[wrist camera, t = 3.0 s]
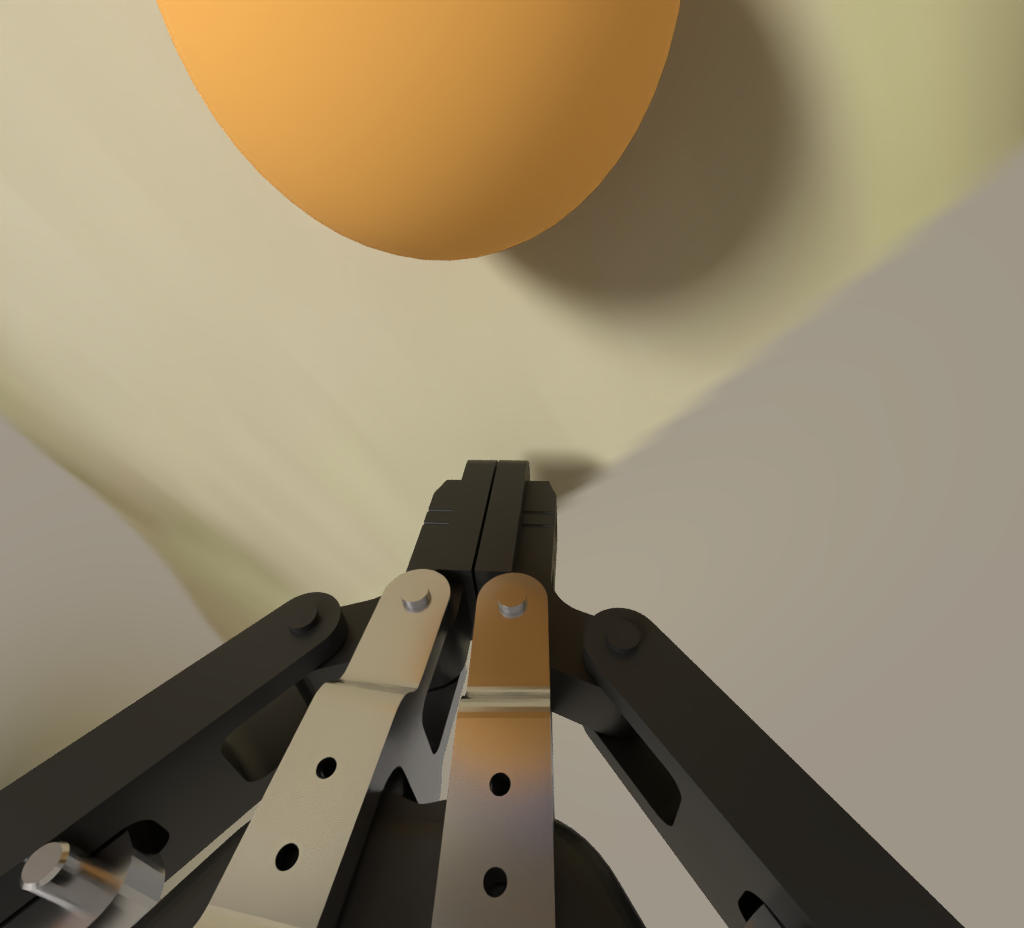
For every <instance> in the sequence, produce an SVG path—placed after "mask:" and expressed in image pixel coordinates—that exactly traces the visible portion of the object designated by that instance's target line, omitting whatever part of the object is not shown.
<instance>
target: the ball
mask: <svg viewBox="0 0 1024 928" xmlns="http://www.w3.org/2000/svg"><path fill="white" fill-rule="evenodd" d="M156 1H157V4H158V7H159V9H160V12H161V14H162V17H163V19H164V22H165V24H166V27H167V29H168V31H169V34H170V36H171V39H172V41H173V44H174V46H175V48H176V50H177V52H178V54H179V56H180V58H181V60H182V62H183V64H184V66H185V68H186V70H187V72H188V74H189V76H190V78H191V80H192V82H193V84H194V85H195V87H196V89H197V90H198V92H199V94H200V95H201V97H202V98H203V100H204V102H205V103H206V105H207V106H208V108H209V110H210V111H211V113H212V114H213V116H214V118H215V119H216V121H217V122H218V123H219V125H220V126H221V127H222V129H223V130H224V131H225V133H226V134H227V135H228V137H229V138H230V139H231V141H232V142H233V143H234V145H235V146H236V147H237V148H238V150H239V151H240V152H241V153H242V154H243V155H244V156H245V157H246V159H247V160H248V161H249V162H250V163H251V164H252V165H253V166H254V167H255V169H256V170H257V171H258V172H259V173H260V174H261V175H262V176H263V177H264V178H265V179H266V180H268V181H269V182H270V183H271V184H272V185H273V186H274V187H275V188H276V189H277V190H278V191H280V192H281V193H282V194H283V195H284V196H285V197H286V198H287V199H289V200H290V201H291V202H292V203H294V204H295V205H296V206H298V207H299V208H300V209H302V210H303V211H304V212H306V213H307V214H308V215H310V216H311V217H312V218H314V219H315V220H317V221H318V222H320V223H322V224H323V225H325V226H327V227H328V228H330V229H332V230H333V231H335V232H337V233H339V234H340V235H342V236H345V237H347V238H349V239H351V240H354V241H356V242H358V243H360V244H363V245H365V246H368V247H371V248H374V249H378V250H381V251H384V252H387V253H391V254H395V255H399V256H405V257H411V258H417V259H423V260H449V261H451V260H460V259H469V258H477V257H480V256H484V255H488V254H492V253H496V252H500V251H503V250H505V249H508V248H510V247H513V246H515V245H517V244H520V243H522V242H525V241H527V240H529V239H531V238H533V237H535V236H537V235H538V234H540V233H542V232H543V231H545V230H547V229H548V228H550V227H552V226H554V225H555V224H556V223H558V222H559V221H560V220H561V219H563V218H564V217H565V216H567V215H568V214H569V213H570V212H572V211H573V210H574V209H576V208H577V207H578V206H579V205H580V204H581V203H582V202H583V201H584V200H585V199H586V198H587V197H588V196H589V195H590V194H591V193H592V192H593V191H594V190H595V189H596V188H597V187H598V186H599V184H600V183H601V182H602V181H603V179H604V178H605V177H606V176H607V174H608V173H609V172H610V170H611V169H612V168H613V167H614V165H615V164H616V163H617V161H618V160H619V159H620V157H621V155H622V154H623V152H624V151H625V149H626V147H627V146H628V144H629V142H630V141H631V139H632V138H633V136H634V134H635V133H636V131H637V129H638V127H639V125H640V123H641V121H642V119H643V117H644V115H645V113H646V111H647V109H648V106H649V104H650V102H651V100H652V98H653V96H654V94H655V91H656V88H657V85H658V82H659V80H660V77H661V74H662V71H663V68H664V65H665V63H666V60H667V57H668V54H669V50H670V46H671V42H672V38H673V34H674V30H675V26H676V21H677V17H678V13H679V8H680V1H681V0H156Z"/></svg>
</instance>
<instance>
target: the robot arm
mask: <svg viewBox="0 0 1024 928" xmlns="http://www.w3.org/2000/svg"><path fill="white" fill-rule="evenodd" d="M556 552H557V505H556V494H555V492H554V490H553V489H552V487H551V485H550V483H549V481H530V468H529V461H520V460H499V462H498V461H497V460H468V461H467V464H466V467H465V470H464V473H463V477H462V480H446V481H445V482H444V484H443V485H442V486H441V487H440V488H439V489H438V490H437V491H436V492H435V493H434V495H433V498H432V500H431V503H430V506H429V512H427V515H426V517H425V520H424V525H423V526H422V529H421V531H420V534H419V537H418V540H417V543H416V545H415V548H414V551H413V554H412V557H411V560H410V562H409V565H408V568H407V571H406V573H403V574H401V575H399V576H398V577H396V578H395V579H394V580H392V581H391V582H390V583H389V584H388V586H387V587H386V588H385V590H384V592H383V594H382V596H380V597H377V598H375V599H372V600H368V601H364V602H360V603H355V604H351V605H347V606H342V607H340V605H339V603H338V601H337V600H336V599H335V598H334V597H333V596H331V595H329V594H326V593H321V592H312V593H307V594H303V595H300V596H298V597H295V598H293V599H292V600H290V601H288V602H287V603H285V604H284V605H282V606H281V607H279V608H277V609H276V610H274V611H273V612H271V613H270V614H268V615H267V616H265V617H264V618H262V619H261V620H259V621H258V622H256V623H255V624H253V625H252V626H250V627H249V628H247V629H245V630H244V631H242V632H241V633H239V634H238V635H236V636H235V637H233V638H232V639H230V640H229V641H227V642H226V643H224V644H223V645H221V646H220V647H218V648H217V649H215V650H214V651H212V652H210V653H209V654H208V655H206V656H204V657H203V658H201V659H200V660H199V661H197V662H195V663H194V664H192V665H191V666H189V667H188V668H186V669H185V670H183V671H182V672H180V673H179V674H177V675H175V676H174V677H173V678H171V679H169V680H168V681H166V682H165V683H163V684H162V685H160V686H159V687H157V688H156V689H154V690H153V691H151V692H150V693H148V694H147V695H145V696H144V697H142V698H140V699H139V700H137V701H136V702H135V703H133V704H131V705H130V706H128V707H127V708H125V709H124V710H122V711H121V712H119V713H118V714H116V715H115V716H113V717H112V718H110V719H108V720H107V721H106V722H104V723H103V724H101V725H99V726H98V727H96V728H95V729H93V730H92V731H90V732H89V733H87V734H86V735H84V736H83V737H81V738H80V739H78V740H77V741H75V742H74V743H72V744H71V745H69V746H67V747H66V748H65V749H63V750H61V751H60V752H58V753H57V754H55V755H54V756H52V757H51V758H49V759H48V760H46V761H45V762H43V763H41V764H40V765H38V766H37V767H35V768H34V769H33V770H31V771H29V772H28V773H26V774H25V775H23V776H22V777H20V778H19V779H17V780H16V781H14V782H13V783H11V784H10V785H8V786H6V787H5V788H3V789H2V790H0V928H646V927H645V925H644V923H643V921H642V920H641V918H640V917H639V915H638V913H637V911H636V910H635V908H634V906H633V905H632V903H631V901H630V900H629V898H628V896H627V894H626V893H625V891H624V889H623V888H622V886H621V884H620V883H619V881H618V879H617V878H616V876H615V874H614V873H613V871H612V870H611V868H610V867H609V866H608V864H607V863H606V862H605V860H604V859H603V858H602V857H601V855H600V854H599V853H598V852H597V851H596V850H595V848H594V847H593V846H592V845H591V844H590V843H589V842H588V841H587V840H586V839H585V838H583V837H582V836H581V835H580V834H578V833H577V832H576V831H575V830H573V829H572V828H570V827H569V826H567V825H565V824H564V823H562V822H561V821H559V820H557V819H555V806H554V805H555V803H554V774H553V773H554V772H553V737H552V712H554V713H556V714H559V715H561V716H563V717H565V718H568V719H570V720H572V721H575V722H577V723H579V724H581V725H583V727H584V729H585V731H586V733H587V735H588V736H589V737H590V739H591V740H592V742H593V743H594V744H595V746H596V747H597V749H598V750H599V751H600V753H601V754H602V755H603V757H604V758H605V759H606V761H607V762H608V764H609V765H610V766H611V767H612V769H613V770H614V772H615V773H616V774H617V776H618V777H619V779H620V780H621V781H622V783H623V784H624V785H625V787H626V788H627V789H628V791H629V792H630V794H631V795H632V796H633V797H634V799H635V800H636V802H637V803H638V804H639V806H640V807H641V809H642V810H643V811H644V812H645V814H646V815H647V817H648V818H649V819H650V821H651V822H652V824H653V825H654V826H655V828H656V829H657V830H658V832H659V833H660V834H661V836H662V837H663V839H664V840H665V841H666V843H667V844H668V845H669V847H670V848H671V849H672V851H673V852H674V854H675V855H676V856H677V858H678V859H679V860H680V862H681V863H682V864H683V866H684V867H685V869H686V870H687V871H688V873H689V874H690V875H691V877H692V878H693V879H694V881H695V882H696V884H697V885H698V886H699V888H700V889H701V890H702V892H703V893H704V894H705V896H706V897H707V899H708V900H709V901H710V903H711V904H712V905H713V907H714V908H715V910H716V911H717V912H718V914H719V915H720V916H721V918H722V919H723V920H724V922H725V923H726V924H727V926H728V927H729V928H965V927H964V926H963V925H961V924H960V923H959V922H958V921H957V920H956V919H955V918H954V917H953V916H952V915H951V914H950V913H949V912H948V911H947V910H946V909H945V908H944V907H943V906H942V905H941V904H940V903H939V902H938V901H937V900H936V899H935V898H934V897H933V896H932V895H931V894H930V893H929V892H928V891H927V890H926V889H925V888H924V887H923V886H922V885H920V884H919V882H918V881H916V880H915V879H914V878H913V877H912V876H911V875H910V874H909V873H908V872H907V871H906V870H905V869H904V868H903V867H902V866H901V865H900V864H899V863H898V862H897V861H896V860H895V859H894V858H893V857H892V856H891V855H890V854H889V853H888V852H887V851H886V850H885V849H884V848H883V847H882V846H881V845H880V844H879V843H878V842H877V841H876V840H875V839H873V838H872V837H871V836H870V835H869V834H868V833H867V832H866V831H865V830H864V829H863V828H862V827H861V826H860V825H859V824H858V823H857V822H856V821H855V820H854V819H853V818H852V817H851V816H850V815H849V814H848V813H847V812H846V811H845V810H844V809H843V808H842V807H841V806H840V805H839V804H838V803H837V802H836V801H835V800H834V799H833V798H832V797H830V795H828V793H826V792H825V791H824V790H823V789H822V788H821V787H820V786H819V785H818V784H817V783H816V782H815V781H814V780H813V779H812V778H811V777H810V776H809V775H808V774H807V773H806V772H805V771H804V770H803V769H802V768H801V767H800V766H799V765H798V764H797V763H796V762H795V761H794V760H792V758H791V757H789V755H788V754H787V753H786V752H784V750H782V749H781V748H780V747H779V746H778V745H777V744H776V743H775V742H774V741H773V740H772V739H771V738H770V737H769V736H768V735H767V734H766V733H765V732H764V731H763V730H762V729H761V728H760V727H759V726H758V725H757V724H756V723H755V722H754V721H753V720H752V719H751V718H750V717H749V716H748V715H747V714H746V713H745V712H744V711H743V710H742V709H741V708H740V707H739V706H738V705H736V704H735V703H734V702H733V701H732V700H731V699H730V698H729V697H728V696H727V695H726V694H725V693H724V692H723V691H722V690H721V689H720V688H719V687H718V686H717V685H716V684H715V683H714V682H713V681H712V680H711V679H710V678H709V677H708V676H707V675H706V674H705V673H704V672H703V671H702V670H701V669H700V668H699V667H698V666H697V665H696V664H694V663H693V662H692V660H690V659H689V658H688V657H687V656H686V655H685V654H684V653H683V652H682V651H681V650H680V649H679V648H678V647H677V646H676V645H675V644H674V643H673V642H672V641H671V640H670V639H669V638H668V637H667V636H666V635H665V634H664V633H663V632H662V631H661V630H660V629H659V628H658V627H657V626H656V625H655V624H654V623H652V621H650V620H649V619H648V618H647V617H645V616H644V615H642V614H641V613H638V612H636V611H633V610H630V609H625V608H611V609H607V610H603V611H601V612H599V613H597V614H596V615H595V616H593V615H590V614H587V613H584V612H582V611H579V610H576V609H574V608H572V607H570V606H569V605H567V604H566V603H564V602H563V601H562V600H561V599H560V598H559V597H558V595H557V594H556V593H555V591H554V589H555V569H556ZM470 640H472V649H471V659H470V667H469V676H468V685H467V691H466V695H465V696H462V698H461V700H460V696H461V693H462V689H463V685H464V682H465V678H466V674H467V664H466V660H467V655H468V650H469V645H470ZM459 700H460V703H459ZM458 704H459V708H458V713H457V722H456V729H455V738H454V746H453V755H452V762H451V770H450V779H449V788H448V795H447V800H442V801H439V799H440V793H441V782H442V765H443V759H444V755H445V751H446V747H447V744H448V740H449V736H450V733H451V729H452V725H453V721H454V718H455V714H456V711H457V707H458ZM259 801H261V802H260V804H259V806H258V808H257V810H256V812H255V814H254V816H253V818H252V820H250V821H249V822H248V823H246V824H245V825H244V826H243V827H241V828H240V829H239V830H238V831H236V832H235V833H234V834H233V835H232V836H231V837H230V838H229V839H227V840H226V841H225V842H224V843H223V844H222V845H221V846H220V847H219V848H218V849H216V850H215V851H214V852H213V853H212V854H211V855H210V856H209V857H208V858H207V859H205V860H204V861H203V862H202V863H201V864H200V865H199V866H198V867H197V868H196V869H194V871H192V872H191V873H190V874H189V875H188V876H187V877H186V878H185V879H183V880H182V881H181V882H180V883H179V884H178V885H177V886H176V887H175V888H174V889H173V890H171V891H170V892H169V893H168V894H167V895H166V896H165V897H164V898H163V899H162V900H161V898H160V896H161V894H162V890H163V887H164V883H165V882H166V881H167V880H168V879H169V878H170V877H171V876H173V875H174V874H175V873H176V872H177V871H179V870H180V869H181V868H182V867H183V866H184V865H186V864H187V863H188V862H189V861H190V860H192V859H193V858H194V857H195V856H196V855H197V854H199V853H200V852H201V851H202V850H203V849H204V848H206V847H207V846H208V845H209V844H210V843H211V842H213V841H214V840H215V839H216V838H217V837H218V836H220V835H221V834H222V833H223V832H224V831H225V830H226V829H228V828H229V827H230V826H231V825H232V824H233V823H235V822H236V821H237V820H238V819H239V818H241V817H242V816H243V815H244V814H245V813H246V812H247V811H249V810H250V809H251V808H252V807H254V806H255V805H256V804H257V803H258V802H259Z"/></svg>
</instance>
